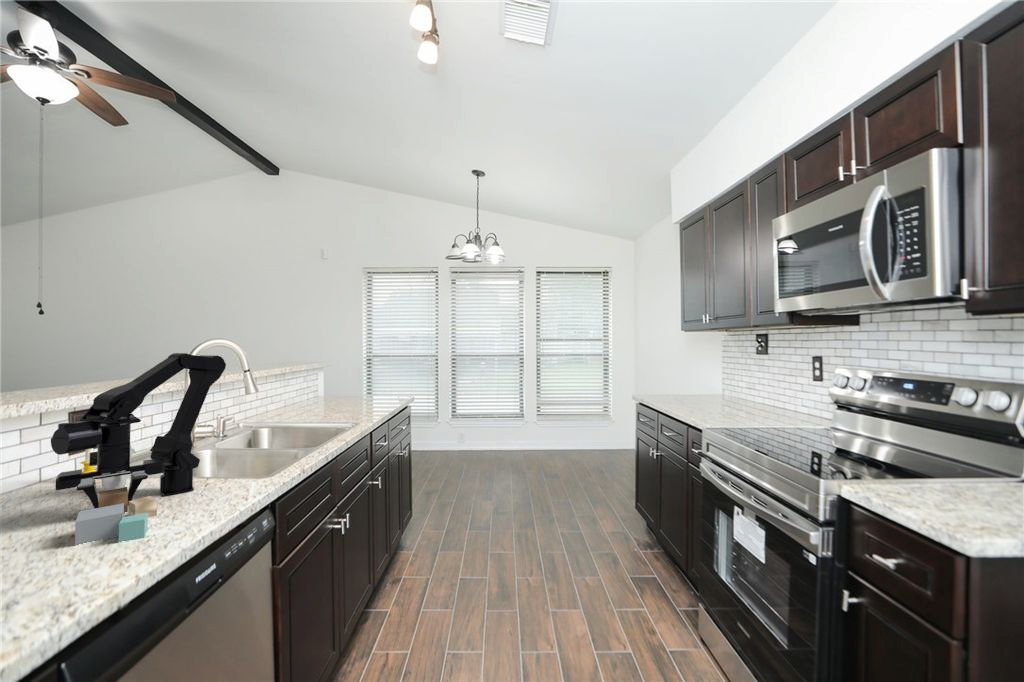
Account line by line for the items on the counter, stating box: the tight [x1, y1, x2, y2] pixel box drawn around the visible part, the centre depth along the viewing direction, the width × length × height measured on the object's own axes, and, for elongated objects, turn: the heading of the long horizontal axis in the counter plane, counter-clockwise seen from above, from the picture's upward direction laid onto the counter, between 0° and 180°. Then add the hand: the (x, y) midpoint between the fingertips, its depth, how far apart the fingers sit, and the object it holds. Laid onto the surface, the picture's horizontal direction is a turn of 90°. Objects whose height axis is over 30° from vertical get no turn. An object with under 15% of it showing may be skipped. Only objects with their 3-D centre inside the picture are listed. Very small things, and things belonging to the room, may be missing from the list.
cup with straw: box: [100, 445, 136, 491], centre depth 115 cm, size 8×9×20 cm
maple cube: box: [127, 495, 158, 519], centre depth 97 cm, size 4×4×4 cm
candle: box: [79, 448, 97, 473], centre depth 123 cm, size 5×5×16 cm
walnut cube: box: [98, 486, 129, 514], centre depth 100 cm, size 5×5×5 cm
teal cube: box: [118, 513, 149, 543], centre depth 88 cm, size 4×4×4 cm
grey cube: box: [74, 503, 125, 546], centre depth 88 cm, size 7×7×5 cm
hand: (113, 508), depth 100 cm, fingers closed on walnut cube, 5 cm apart
